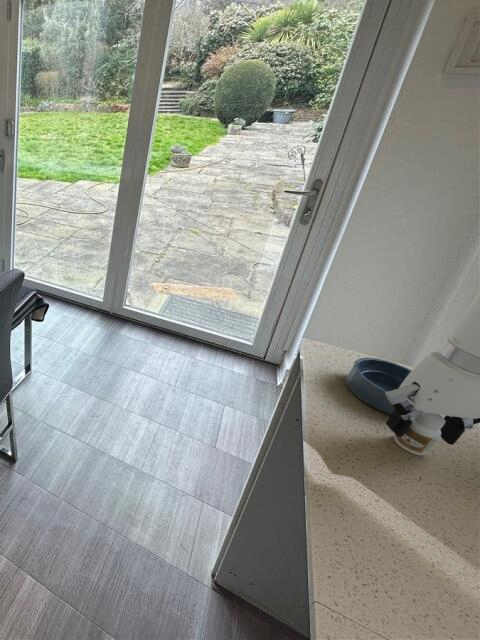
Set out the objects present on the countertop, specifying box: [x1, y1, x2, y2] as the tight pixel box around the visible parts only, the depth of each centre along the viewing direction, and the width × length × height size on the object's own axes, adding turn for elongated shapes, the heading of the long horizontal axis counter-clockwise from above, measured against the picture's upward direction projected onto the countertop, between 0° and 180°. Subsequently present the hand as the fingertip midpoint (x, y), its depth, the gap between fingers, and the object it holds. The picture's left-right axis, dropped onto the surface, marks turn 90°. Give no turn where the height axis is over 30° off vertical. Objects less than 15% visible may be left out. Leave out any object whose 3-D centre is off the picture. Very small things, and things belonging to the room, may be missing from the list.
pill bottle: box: [393, 412, 445, 456], centre depth 74 cm, size 4×4×8 cm
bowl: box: [345, 357, 414, 416], centre depth 85 cm, size 13×13×5 cm
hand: (418, 433), depth 74 cm, fingers open, 7 cm apart
